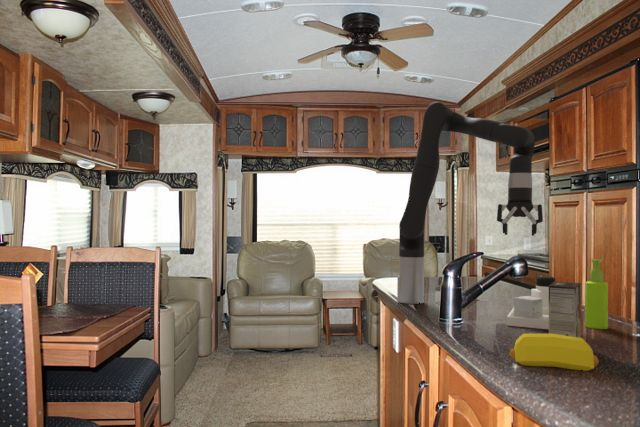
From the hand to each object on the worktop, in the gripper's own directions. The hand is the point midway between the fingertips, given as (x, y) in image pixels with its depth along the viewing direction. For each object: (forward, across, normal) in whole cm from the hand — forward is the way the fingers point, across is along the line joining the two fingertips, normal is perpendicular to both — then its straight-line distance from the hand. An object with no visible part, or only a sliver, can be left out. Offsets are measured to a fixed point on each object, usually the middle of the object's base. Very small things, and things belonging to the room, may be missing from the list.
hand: (519, 235), depth 171 cm
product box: (+26, -5, +17) cm, 31 cm away
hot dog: (+27, -14, +60) cm, 67 cm away
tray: (+26, -5, +11) cm, 29 cm away
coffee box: (+26, -16, +44) cm, 54 cm away
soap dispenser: (+26, -23, +11) cm, 37 cm away
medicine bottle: (+26, -8, -9) cm, 29 cm away
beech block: (+26, -5, +5) cm, 27 cm away
